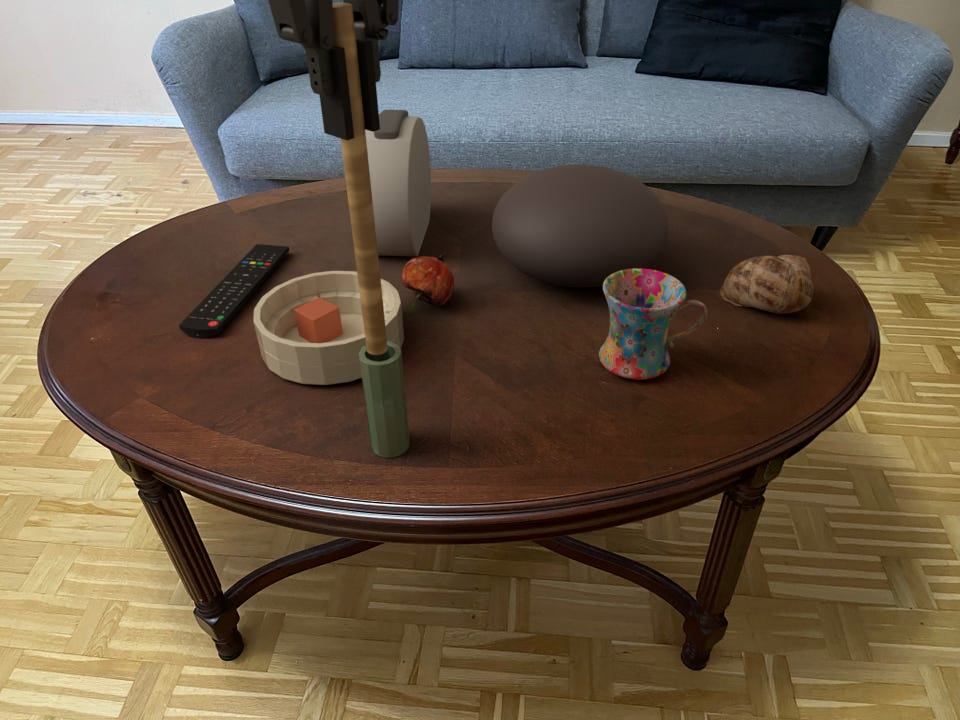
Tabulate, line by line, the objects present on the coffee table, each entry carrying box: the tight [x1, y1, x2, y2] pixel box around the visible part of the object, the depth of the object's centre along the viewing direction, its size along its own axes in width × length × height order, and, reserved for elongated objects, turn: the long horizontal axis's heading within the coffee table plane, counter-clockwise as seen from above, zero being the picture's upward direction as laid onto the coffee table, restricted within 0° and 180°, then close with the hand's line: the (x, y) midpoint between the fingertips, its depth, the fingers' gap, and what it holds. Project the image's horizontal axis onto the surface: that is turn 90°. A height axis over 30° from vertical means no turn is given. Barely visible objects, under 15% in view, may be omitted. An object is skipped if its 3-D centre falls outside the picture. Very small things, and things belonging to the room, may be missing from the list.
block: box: [294, 297, 343, 343], centre depth 91 cm, size 4×4×4 cm
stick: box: [333, 2, 388, 355], centre depth 60 cm, size 2×2×30 cm
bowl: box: [252, 270, 405, 386], centre depth 89 cm, size 18×18×6 cm
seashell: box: [719, 254, 814, 315], centre depth 96 cm, size 10×9×10 cm
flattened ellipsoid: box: [491, 163, 670, 288], centre depth 102 cm, size 25×25×15 cm
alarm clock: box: [365, 109, 432, 258], centre depth 110 cm, size 21×8×20 cm, turn 175°
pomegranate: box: [401, 251, 455, 316], centre depth 97 cm, size 7×7×10 cm
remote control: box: [178, 243, 290, 339], centre depth 102 cm, size 5×24×1 cm, turn 170°
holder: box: [359, 341, 410, 459], centre depth 72 cm, size 4×4×12 cm
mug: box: [598, 268, 708, 381], centre depth 84 cm, size 12×9×11 cm
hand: (352, 130), depth 56 cm, fingers closed on stick, 2 cm apart
